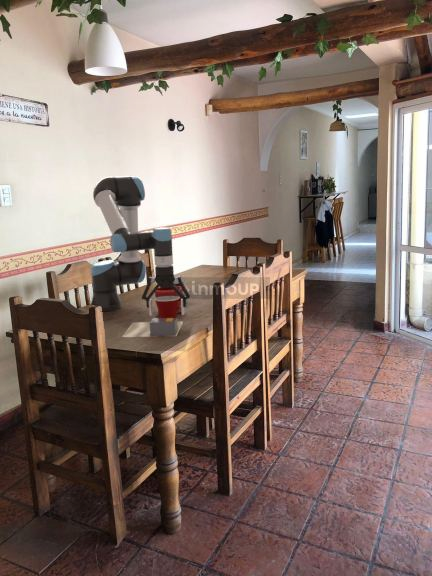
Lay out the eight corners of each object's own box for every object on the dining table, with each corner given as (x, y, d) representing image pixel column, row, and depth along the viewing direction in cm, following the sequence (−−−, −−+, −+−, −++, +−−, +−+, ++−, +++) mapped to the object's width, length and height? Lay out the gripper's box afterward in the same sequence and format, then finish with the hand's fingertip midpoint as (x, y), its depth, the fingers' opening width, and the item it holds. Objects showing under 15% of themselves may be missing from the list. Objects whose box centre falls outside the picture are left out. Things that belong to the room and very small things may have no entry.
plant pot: (188, 310, 231) (187, 286, 228) (173, 317, 220) (171, 291, 217) (167, 307, 238) (165, 284, 235) (150, 314, 227) (148, 289, 224)
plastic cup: (181, 320, 209) (180, 293, 207) (180, 327, 199) (179, 299, 196) (156, 321, 209) (154, 294, 206) (154, 328, 198) (152, 300, 196)
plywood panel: (121, 340, 190) (121, 337, 189) (133, 325, 209) (132, 322, 209) (176, 339, 188) (176, 336, 188) (183, 324, 208) (183, 321, 208)
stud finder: (150, 336, 189) (149, 321, 188) (153, 331, 195) (152, 317, 194) (175, 335, 189) (174, 321, 187) (177, 331, 195) (176, 317, 193)
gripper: (132, 267, 196) (136, 317, 200) (193, 266, 194) (195, 316, 199) (136, 264, 203) (139, 312, 208) (194, 263, 201) (197, 311, 206)
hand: (167, 314), depth 203 cm, fingers open, 13 cm apart
